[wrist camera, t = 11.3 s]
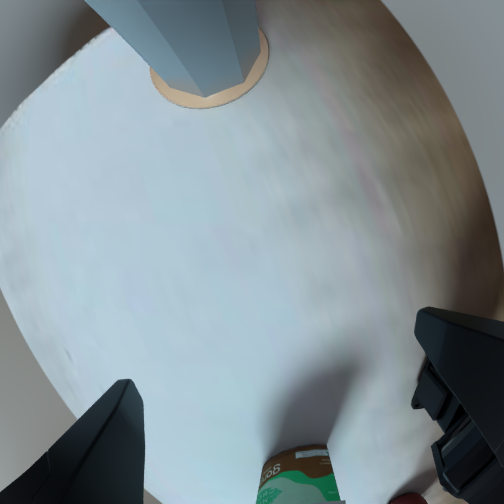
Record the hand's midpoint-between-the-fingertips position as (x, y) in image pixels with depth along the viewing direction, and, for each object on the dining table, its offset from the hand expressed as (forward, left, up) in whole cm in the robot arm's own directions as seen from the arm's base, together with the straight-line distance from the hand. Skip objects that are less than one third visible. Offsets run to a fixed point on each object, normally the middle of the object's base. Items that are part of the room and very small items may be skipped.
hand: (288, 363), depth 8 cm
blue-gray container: (+6, -15, -12) cm, 20 cm away
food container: (-3, +20, -12) cm, 24 cm away
